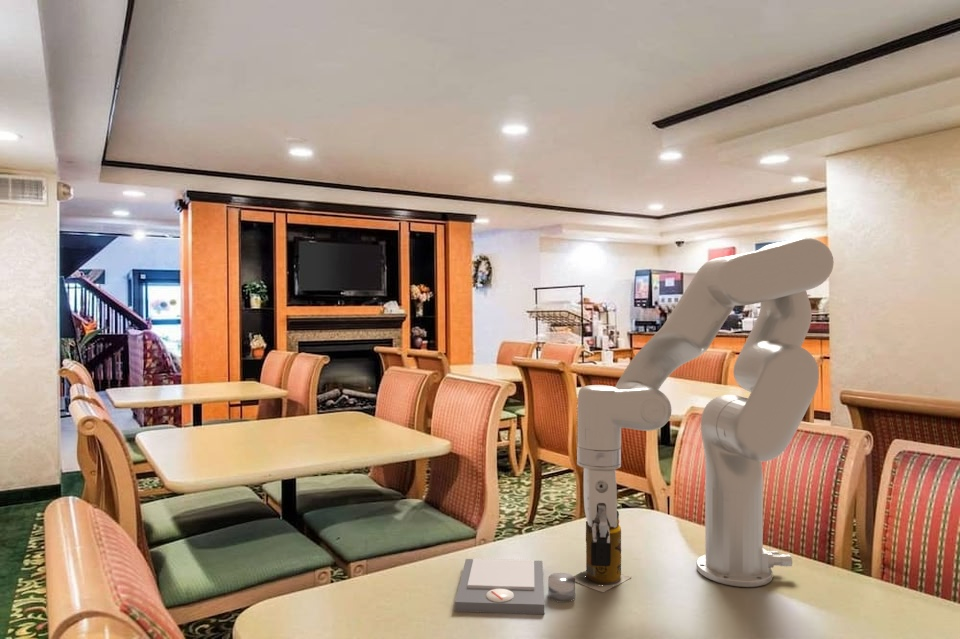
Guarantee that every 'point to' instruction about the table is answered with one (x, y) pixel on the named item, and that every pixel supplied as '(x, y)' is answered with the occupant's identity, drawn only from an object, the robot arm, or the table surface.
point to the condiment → (603, 574)
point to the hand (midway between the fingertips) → (597, 553)
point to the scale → (501, 586)
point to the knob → (561, 587)
